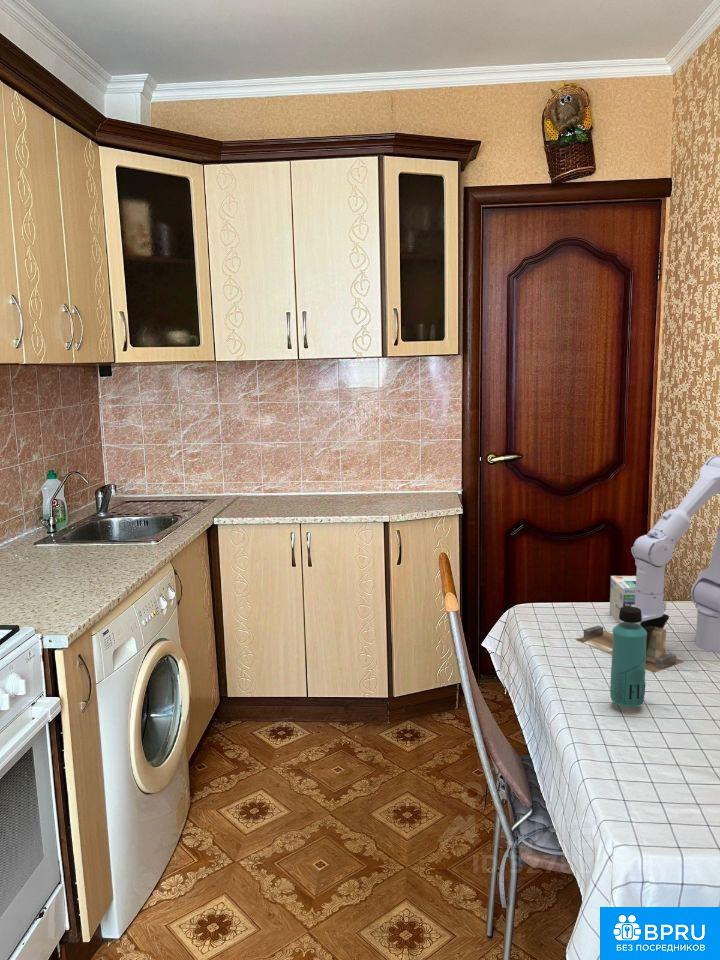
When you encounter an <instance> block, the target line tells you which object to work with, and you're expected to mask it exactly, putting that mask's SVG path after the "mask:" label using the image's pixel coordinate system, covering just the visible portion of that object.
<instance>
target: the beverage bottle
mask: <svg viewBox="0 0 720 960" xmlns="http://www.w3.org/2000/svg"><path fill="white" fill-rule="evenodd" d="M619 619H620V620H622V621H624V622H622V623H620V624H619V623H618V624H616V625H615V626H614V627H613V628H612V634H613V645H612V655H611V664H610V665H611V666H610V667H611V668H610V675H609V676H610V677H609V678H610V679H609V680H610V681H609V682H610V690H609V695H610V699H611V702H613V703H615V704H617V705H619V706H621V707H626V708H627V707H628V708H635V707H640V706H642V705H643V704H644V701H645V695H646V673H647V672H646V669H645V666H646V663H647V662H646V661H647V660H646V654H647V650H646V638H647V632H646V630H645V629H644V628H643V627H642V626H641V625H639V624H637V623H638V622H641V621H642V615H641V609H639V608H637V607H632V606H625V607H621V608H620V613H619Z"/></svg>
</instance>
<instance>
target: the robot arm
mask: <svg viewBox="0 0 720 960" xmlns="http://www.w3.org/2000/svg"><path fill="white" fill-rule="evenodd" d="M715 494H720V455H713V456H711V457H709V458H708V459H707V460H706V461H705V463H704V465H702V466H701V467H700V468H699V477H698V478H697V480H696V481H695V482H694V483H693V485H692V487H691V488H690V489H689V491H688V492H687V494H686V495H685V496H684V498H683V499H682V500H681V501H680V503H679V504H678V506H677V508H672V509H667V511H664V513H662V515H661V518H659V520H658V521H657V522H656V523H655V524H654V525H653V527H652V528H651V529H650V530H649V531H648V532H647V534H643V535H641V536H639V537H638V538H637V539H635V541H634V543H633V546H632V547H631V549H630V550H631V551H630V552H631V554H632V556H633V558H634V560H635V561H634V562H635V563H634V565H635V566H636V573H635V574H636V575H635V576H636V595H635V605H632V607H637V608H639V609H641V615H642V621H641V622H638V623H637V624H639V625H641V626H642V627H643V628H644V629H645V630H646V632H647V638H646V650H648V645H649V640H650V637H651V634H652V632H653V630H654V628H655V627H658V628H662V629H665V625H666V624H667V622H668V621H669V620H670V615H668V614H666V613H665V611H667V602H666V601H664V594H665V593H664V592H665V590H664V589H665V577H666V576H665V573H666V572H665V570H666V565H667V564H668V563H669V562H670V561H671V560H672V558H673V553H674V550H675V547H676V544H677V543H678V542H679V540H680V539H681V538H682V537H683V536H684V534H685V533H686V532H688V530H689V529H690V528H691V518H692V517H693V516H694V515H695V514H696V513H697V512H698V511H699V510H700V509H701V508H702V507H703V506H704V505H705V504H706V503H707V502H708V501H709V500H710V499H711V498H712V497H713V496H714V495H715ZM690 597H691V601H693V603H694V604H695V609H697V611H696V612H697V613H696V615H697V616H696V630H695V646H696V647H697V648H699V649H700V650H703V651H706V652H712V653H720V525H719V527H718V531H717V535H716V538H715V543H714V547H713V550H712V554H711V558H710V561H709V566H708V567H707V568H705V569H703V570H701V571H699V573H698V575H697V578H696V581H695V582H694V583H693V585H692V586H691V589H690ZM649 625H650V626H649Z"/></svg>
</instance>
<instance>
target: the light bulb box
mask: <svg viewBox="0 0 720 960" xmlns="http://www.w3.org/2000/svg"><path fill="white" fill-rule="evenodd" d="M609 590H610V591H609V592H610V593H609V595H610V597H609V616H612V618H614V620H615V621H616V622H617V623H618V624H620V623H622V622H624V621H622V620H620V619H619V613H620V608H621V607H625V606H632V605H635V595H636V575H610V589H609Z"/></svg>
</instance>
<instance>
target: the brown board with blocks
mask: <svg viewBox="0 0 720 960" xmlns="http://www.w3.org/2000/svg"><path fill="white" fill-rule="evenodd" d="M575 640H576V641H577V642H580V643H582V644H585V645H587V646H589V647H592V648H594V649H596V650H599V651H602V652H604V653H606V654H608V655H611V656H612V645H613V632H612V633H611V632H609V631H606V630H604V627H603V626H601V625H595V626H591V627H589V628H584V629H583V637H579V638H576V639H575ZM646 662H647V663H646V666H645V670H646V671H650V672H651V673H654V674H655V673H657V672H661V671H663V670H665V669H669V668H671V667H675V666H677V665H680V664H682V663H685V661H684V660H681V659H678V658H677V654H674V653H672V652H670V653H665V655H663V656H660V657H657V658H655V663H653V662H650V661H646Z"/></svg>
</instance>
